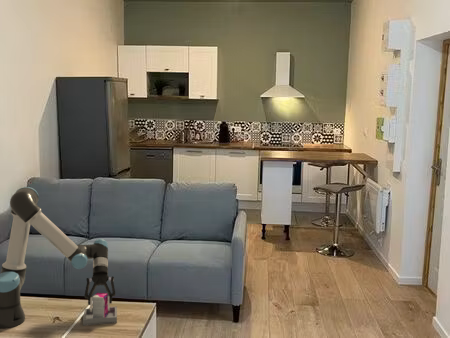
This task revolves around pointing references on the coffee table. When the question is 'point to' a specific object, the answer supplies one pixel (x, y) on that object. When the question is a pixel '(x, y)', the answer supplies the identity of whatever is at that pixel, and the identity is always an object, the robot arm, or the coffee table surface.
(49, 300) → the coffee table surface
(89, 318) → the tray
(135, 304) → the coffee table surface
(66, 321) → the coffee table surface
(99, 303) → the supplement box
